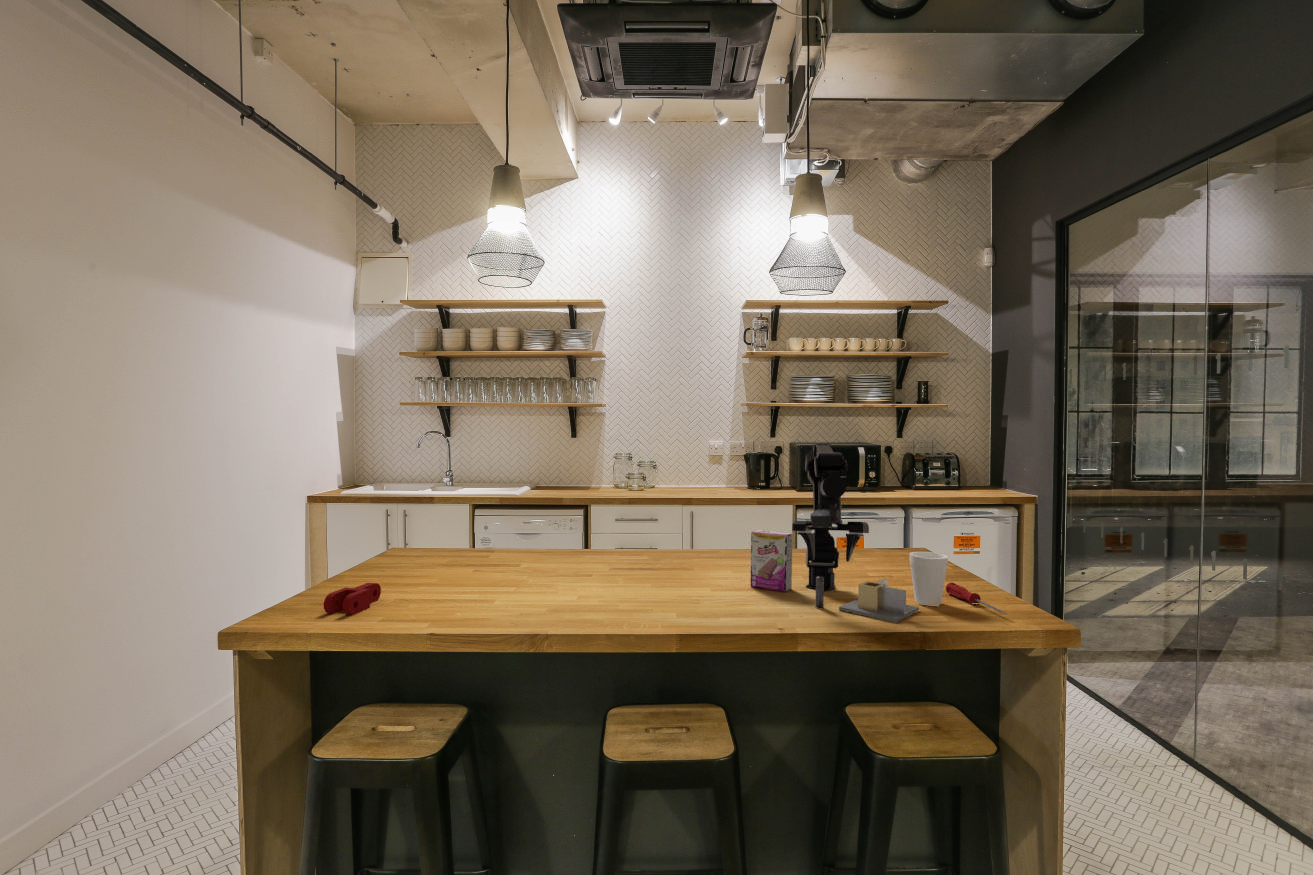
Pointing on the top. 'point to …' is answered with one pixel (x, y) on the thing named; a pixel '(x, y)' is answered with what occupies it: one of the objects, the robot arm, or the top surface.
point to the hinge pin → (819, 591)
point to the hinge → (881, 597)
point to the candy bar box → (771, 560)
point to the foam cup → (928, 576)
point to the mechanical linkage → (352, 599)
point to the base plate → (880, 614)
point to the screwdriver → (966, 595)
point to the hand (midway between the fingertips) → (830, 560)
